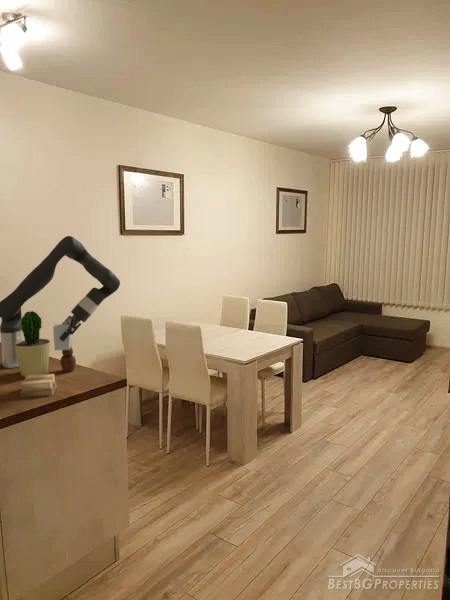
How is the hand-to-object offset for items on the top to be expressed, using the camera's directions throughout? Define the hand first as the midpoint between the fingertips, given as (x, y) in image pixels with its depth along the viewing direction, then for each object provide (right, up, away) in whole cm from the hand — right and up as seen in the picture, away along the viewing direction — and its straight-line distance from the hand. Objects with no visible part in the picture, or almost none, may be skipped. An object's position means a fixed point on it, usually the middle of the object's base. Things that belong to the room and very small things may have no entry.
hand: (59, 338), depth 194 cm
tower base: (-6, -22, -6) cm, 24 cm away
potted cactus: (-18, -18, +17) cm, 30 cm away
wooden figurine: (-3, -17, +20) cm, 27 cm away
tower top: (-6, -19, -7) cm, 21 cm away
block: (+1, -4, +1) cm, 5 cm away
